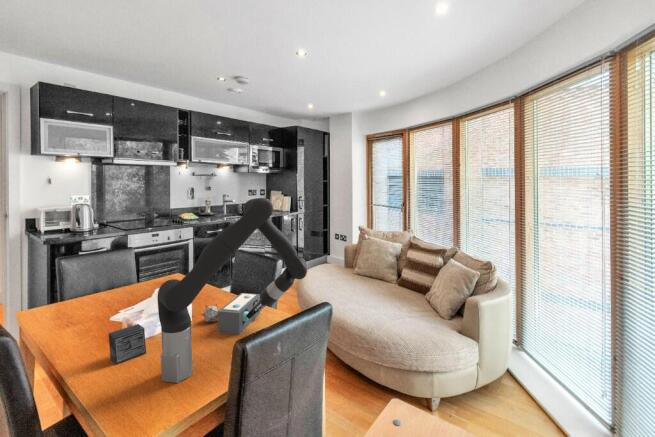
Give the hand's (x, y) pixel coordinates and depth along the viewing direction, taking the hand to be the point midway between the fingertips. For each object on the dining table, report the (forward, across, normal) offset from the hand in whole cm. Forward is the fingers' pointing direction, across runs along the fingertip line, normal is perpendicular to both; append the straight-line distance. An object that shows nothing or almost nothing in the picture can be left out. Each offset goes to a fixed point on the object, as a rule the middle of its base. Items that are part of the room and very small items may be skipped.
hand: (248, 316), depth 144 cm
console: (+9, -6, 0) cm, 11 cm away
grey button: (+2, -12, +1) cm, 12 cm away
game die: (+19, -4, -10) cm, 22 cm away
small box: (+29, +30, -21) cm, 47 cm away
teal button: (+3, 0, 0) cm, 3 cm away
